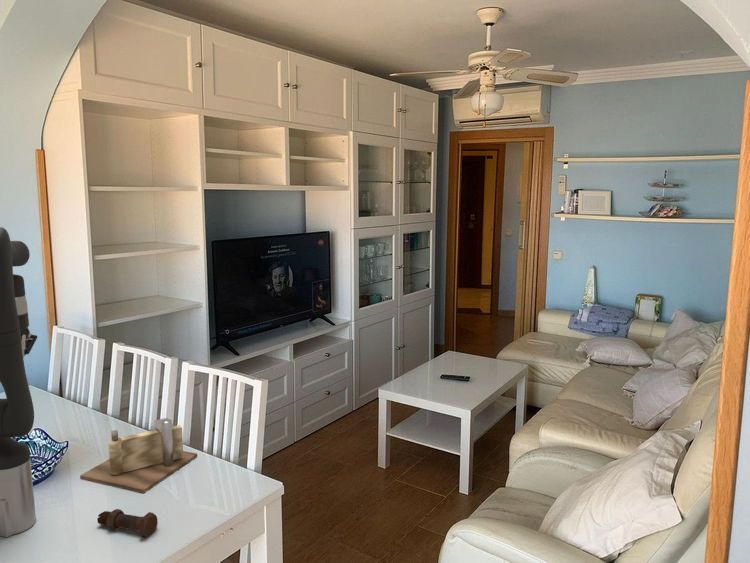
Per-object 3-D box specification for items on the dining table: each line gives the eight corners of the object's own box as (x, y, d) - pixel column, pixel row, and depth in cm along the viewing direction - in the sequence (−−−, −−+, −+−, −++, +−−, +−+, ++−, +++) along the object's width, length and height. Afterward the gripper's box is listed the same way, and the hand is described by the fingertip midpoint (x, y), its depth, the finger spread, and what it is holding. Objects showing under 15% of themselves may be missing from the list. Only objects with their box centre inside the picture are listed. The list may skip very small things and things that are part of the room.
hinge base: (143, 493, 163) (140, 446, 161) (80, 478, 171) (76, 433, 168) (197, 456, 185) (195, 414, 183) (139, 444, 193) (136, 404, 191)
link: (111, 476, 170) (109, 443, 168) (109, 471, 173) (107, 439, 171) (184, 458, 181) (182, 428, 179) (180, 454, 184) (179, 424, 182)
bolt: (104, 529, 149) (154, 537, 145) (90, 529, 145) (141, 538, 140) (110, 505, 151) (160, 512, 147) (97, 504, 147) (147, 512, 142)
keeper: (163, 468, 175) (160, 424, 173) (156, 458, 182) (153, 415, 179) (176, 464, 178) (174, 421, 175) (169, 454, 184) (167, 412, 182)
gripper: (-1, 318, 157) (5, 379, 160) (42, 308, 169) (47, 366, 172) (-20, 315, 159) (-14, 376, 162) (23, 306, 172) (28, 363, 175)
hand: (17, 371), depth 167 cm, fingers closed
